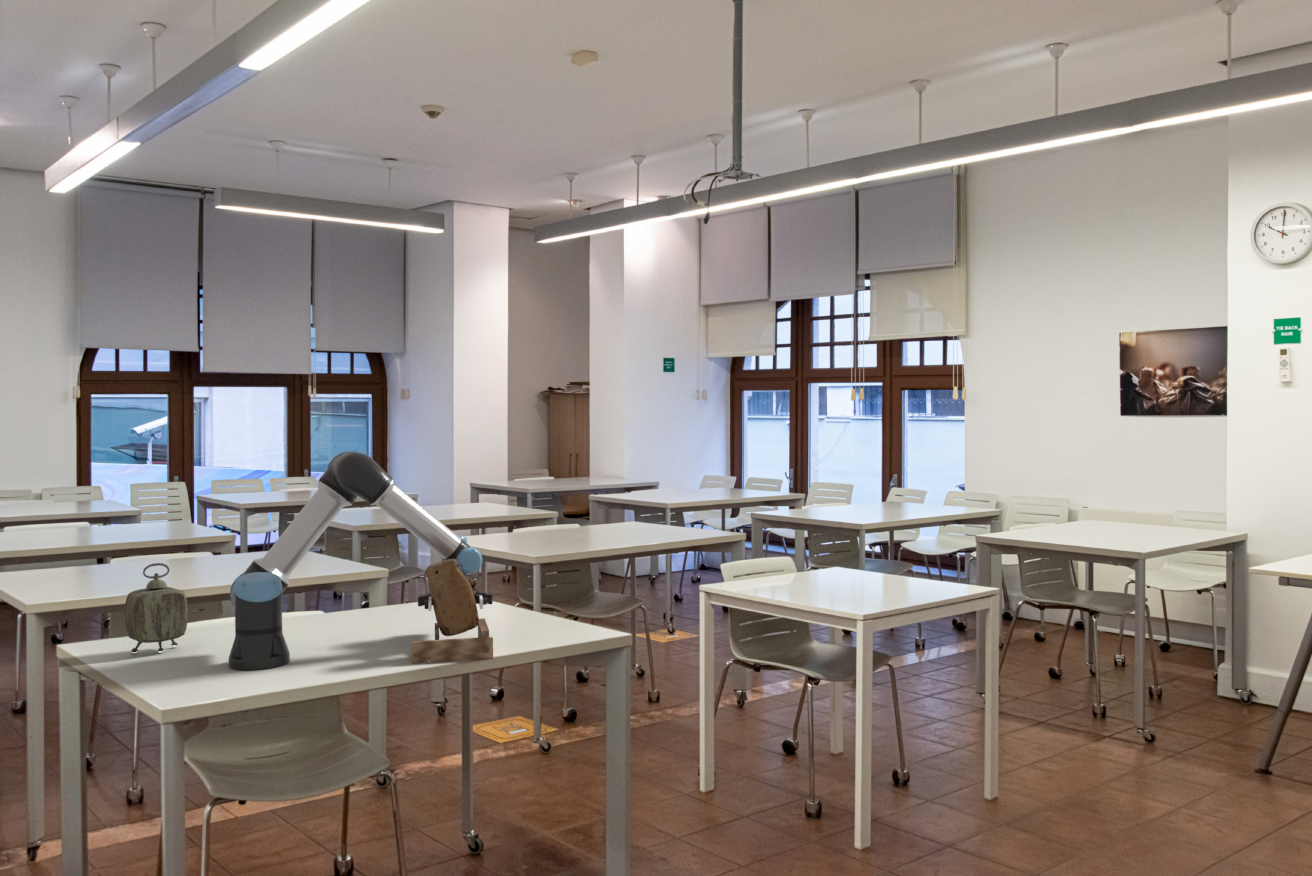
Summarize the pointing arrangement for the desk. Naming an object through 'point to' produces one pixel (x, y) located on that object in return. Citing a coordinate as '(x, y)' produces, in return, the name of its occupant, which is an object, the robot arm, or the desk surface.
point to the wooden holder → (454, 647)
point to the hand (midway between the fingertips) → (455, 605)
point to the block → (452, 598)
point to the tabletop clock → (156, 612)
